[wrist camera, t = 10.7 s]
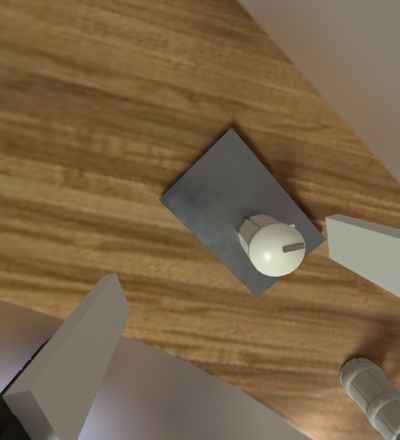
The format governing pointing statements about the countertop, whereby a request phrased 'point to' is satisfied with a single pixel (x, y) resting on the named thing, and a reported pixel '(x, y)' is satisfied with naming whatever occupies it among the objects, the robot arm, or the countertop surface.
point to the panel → (234, 206)
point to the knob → (271, 245)
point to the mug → (373, 395)
